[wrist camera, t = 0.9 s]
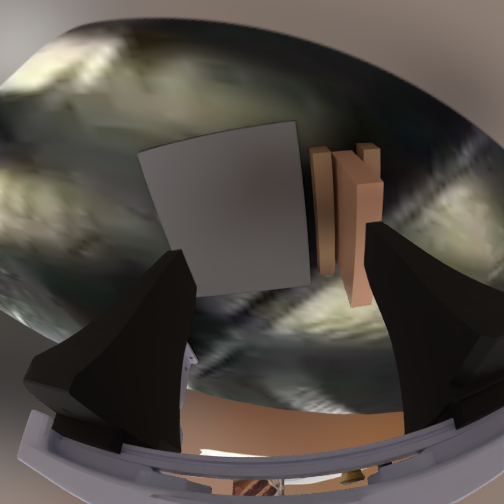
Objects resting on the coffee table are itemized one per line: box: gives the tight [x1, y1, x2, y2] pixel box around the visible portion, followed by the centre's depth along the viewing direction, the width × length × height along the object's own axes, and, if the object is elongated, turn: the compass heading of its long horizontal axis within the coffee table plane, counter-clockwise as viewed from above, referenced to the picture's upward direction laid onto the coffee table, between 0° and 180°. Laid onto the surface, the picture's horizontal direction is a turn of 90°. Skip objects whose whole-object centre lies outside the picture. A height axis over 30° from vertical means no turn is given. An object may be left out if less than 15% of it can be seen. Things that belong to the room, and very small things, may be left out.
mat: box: [137, 120, 311, 297], centre depth 21 cm, size 14×11×1 cm
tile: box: [331, 150, 383, 308], centre depth 18 cm, size 9×2×6 cm, turn 10°
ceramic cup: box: [340, 469, 365, 485], centre depth 81 cm, size 13×10×10 cm
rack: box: [308, 143, 380, 276], centre depth 20 cm, size 10×5×2 cm, turn 10°
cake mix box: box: [232, 479, 284, 496], centre depth 83 cm, size 22×6×30 cm, turn 106°
